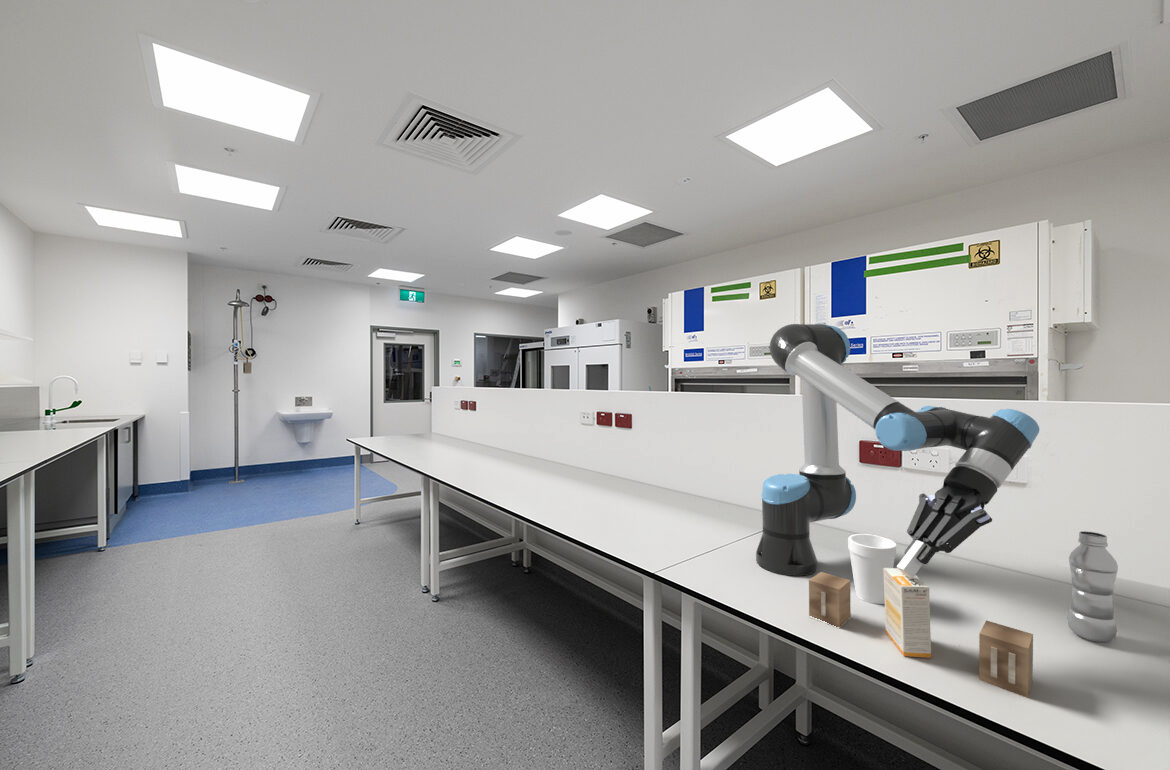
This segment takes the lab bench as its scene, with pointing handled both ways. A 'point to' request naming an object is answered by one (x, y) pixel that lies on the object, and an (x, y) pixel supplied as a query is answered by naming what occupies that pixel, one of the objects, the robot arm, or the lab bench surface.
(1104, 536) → the plastic bottle
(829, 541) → the lab bench surface
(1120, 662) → the lab bench surface
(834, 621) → the walnut block one
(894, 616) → the supplement box
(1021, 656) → the walnut block two
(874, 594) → the foam cup
